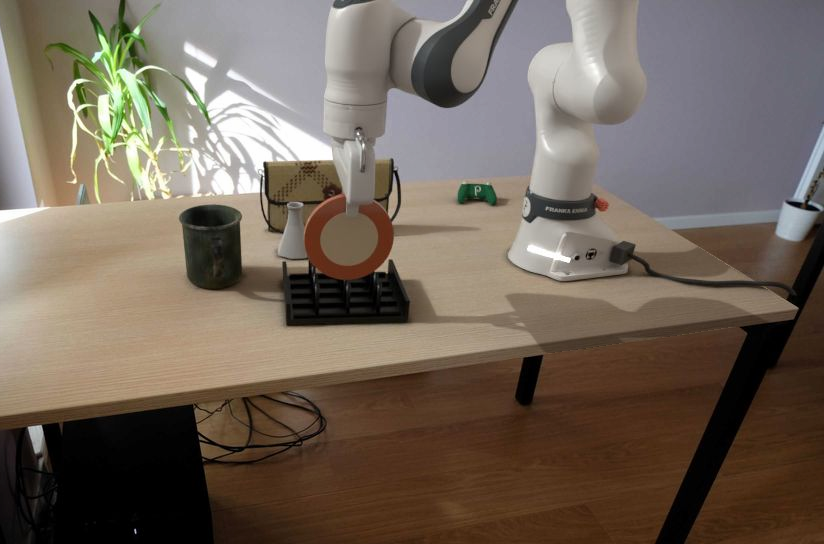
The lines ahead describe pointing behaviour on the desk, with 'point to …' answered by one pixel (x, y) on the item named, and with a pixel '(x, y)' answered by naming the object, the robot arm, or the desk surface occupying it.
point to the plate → (348, 239)
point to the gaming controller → (477, 192)
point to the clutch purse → (315, 187)
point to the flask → (293, 234)
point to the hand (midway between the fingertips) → (350, 212)
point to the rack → (344, 298)
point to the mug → (212, 245)
